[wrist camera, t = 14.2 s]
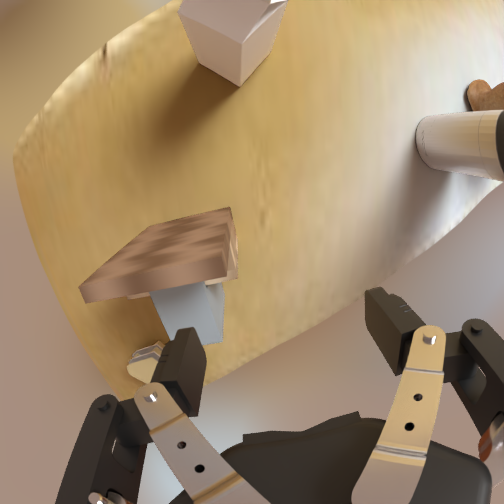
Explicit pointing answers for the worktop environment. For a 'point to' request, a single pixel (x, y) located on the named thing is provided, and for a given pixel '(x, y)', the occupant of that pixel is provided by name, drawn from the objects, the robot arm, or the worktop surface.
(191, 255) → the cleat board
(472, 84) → the tan boot vase
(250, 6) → the milk carton
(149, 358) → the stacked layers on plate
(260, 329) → the worktop surface
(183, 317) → the blue-grey block
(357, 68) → the worktop surface
